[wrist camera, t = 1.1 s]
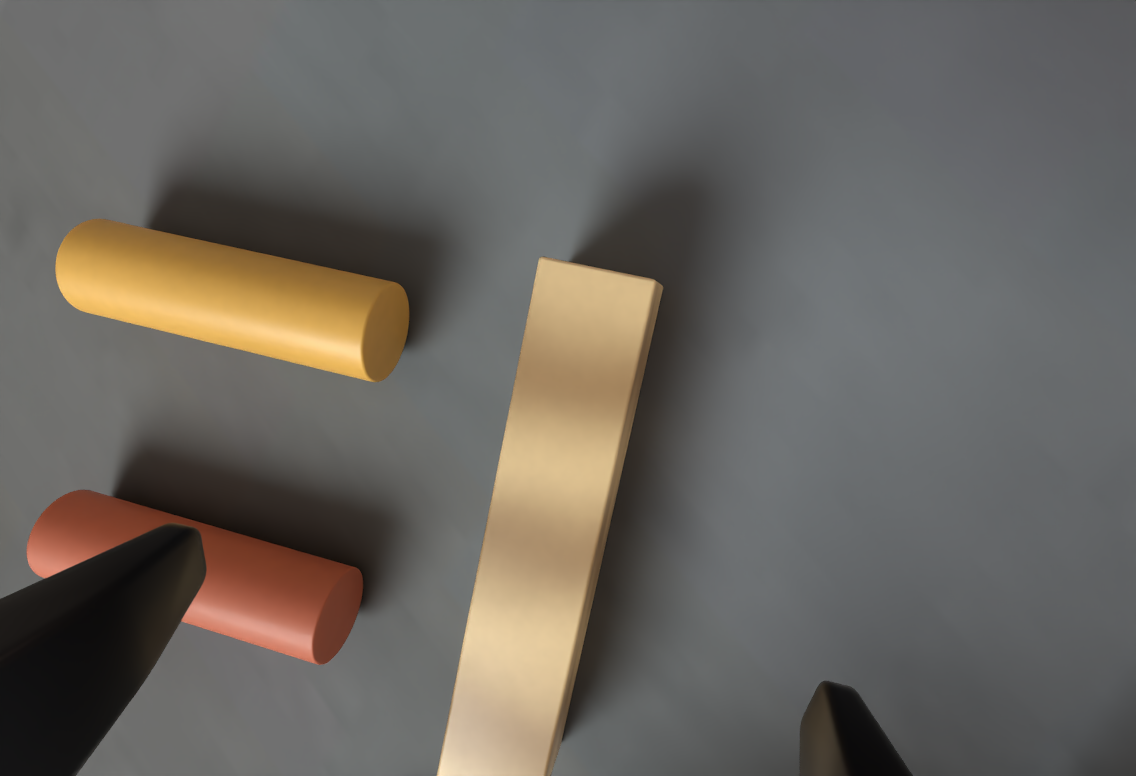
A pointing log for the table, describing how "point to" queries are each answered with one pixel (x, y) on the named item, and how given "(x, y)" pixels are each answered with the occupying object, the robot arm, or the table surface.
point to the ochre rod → (235, 297)
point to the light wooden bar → (549, 517)
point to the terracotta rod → (217, 575)
